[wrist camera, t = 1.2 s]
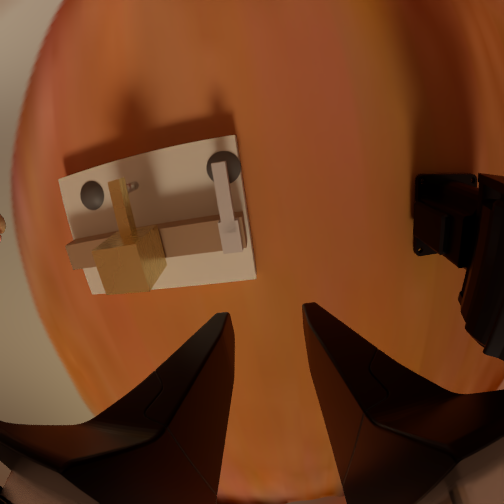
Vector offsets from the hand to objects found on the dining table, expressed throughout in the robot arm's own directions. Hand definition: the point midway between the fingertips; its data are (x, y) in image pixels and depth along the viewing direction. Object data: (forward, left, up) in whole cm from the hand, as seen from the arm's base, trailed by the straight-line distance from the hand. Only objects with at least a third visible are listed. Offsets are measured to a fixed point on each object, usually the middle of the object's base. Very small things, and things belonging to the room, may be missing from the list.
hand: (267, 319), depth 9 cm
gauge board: (+8, -1, -12) cm, 14 cm away
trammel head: (+8, -2, -10) cm, 13 cm away
